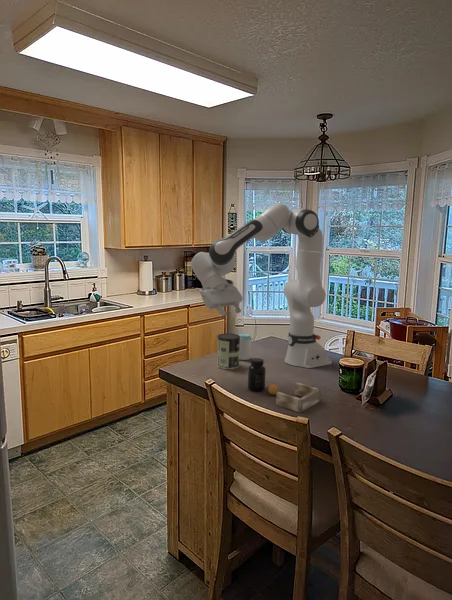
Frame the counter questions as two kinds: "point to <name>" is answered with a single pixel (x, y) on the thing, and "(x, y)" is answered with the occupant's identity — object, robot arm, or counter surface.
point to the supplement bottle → (256, 375)
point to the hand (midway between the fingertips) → (232, 313)
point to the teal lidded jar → (245, 346)
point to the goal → (299, 404)
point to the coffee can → (228, 351)
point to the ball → (273, 389)
